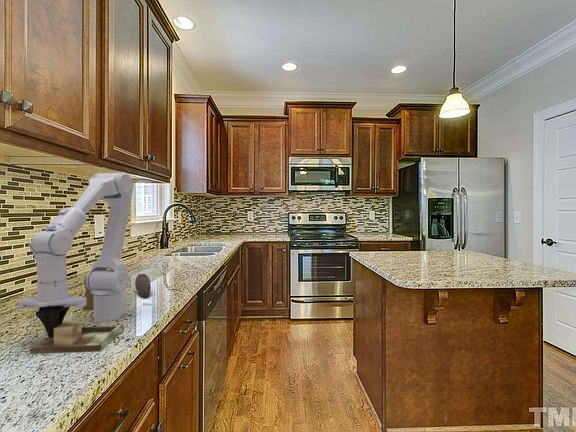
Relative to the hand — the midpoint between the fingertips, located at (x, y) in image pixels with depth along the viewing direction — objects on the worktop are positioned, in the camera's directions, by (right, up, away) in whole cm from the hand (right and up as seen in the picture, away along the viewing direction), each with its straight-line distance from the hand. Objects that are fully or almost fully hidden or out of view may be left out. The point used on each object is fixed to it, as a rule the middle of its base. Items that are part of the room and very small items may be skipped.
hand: (54, 336), depth 77 cm
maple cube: (+3, -1, 0) cm, 4 cm away
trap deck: (+6, -3, 0) cm, 7 cm away
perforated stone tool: (0, -2, +47) cm, 47 cm away
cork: (-9, -2, +31) cm, 33 cm away
